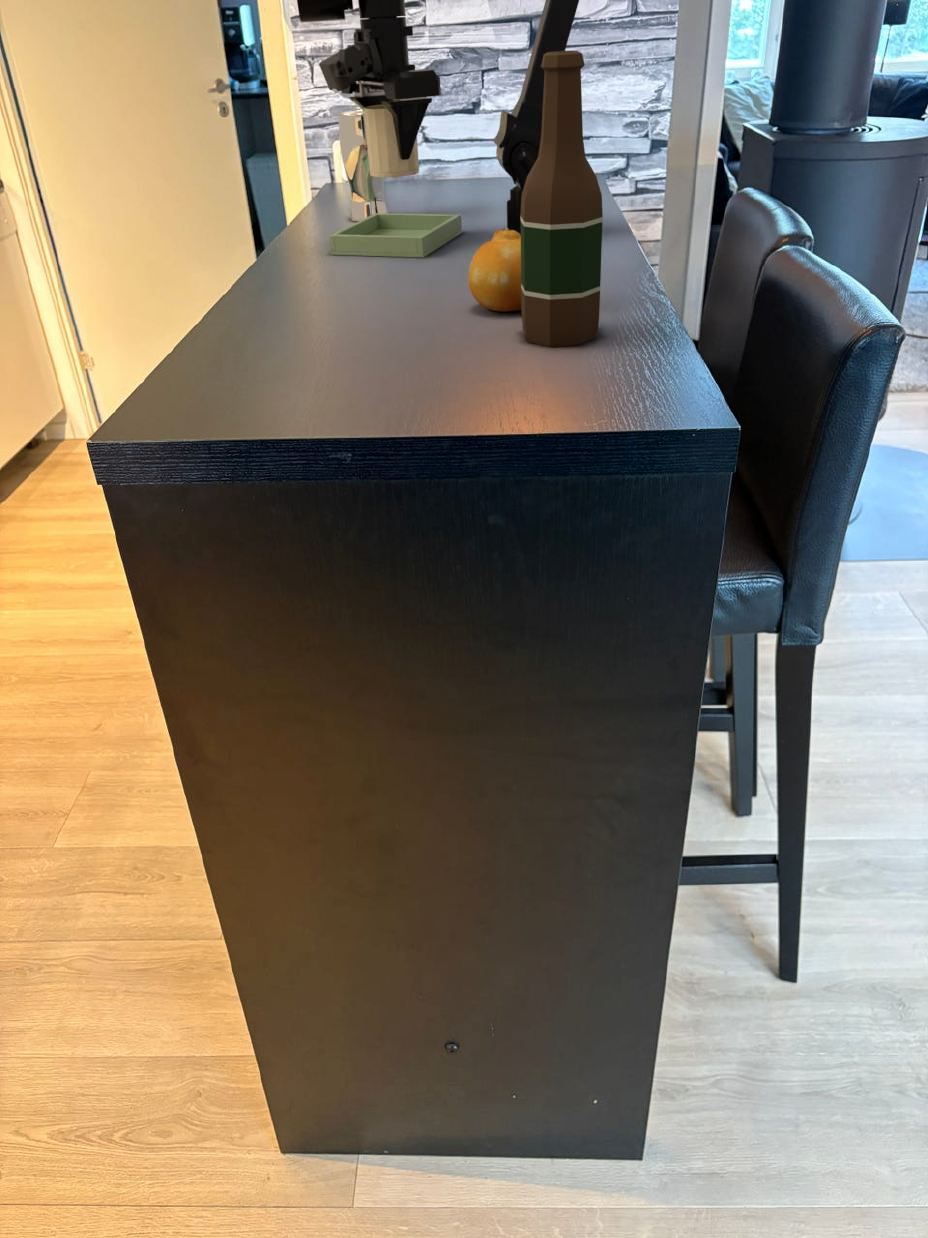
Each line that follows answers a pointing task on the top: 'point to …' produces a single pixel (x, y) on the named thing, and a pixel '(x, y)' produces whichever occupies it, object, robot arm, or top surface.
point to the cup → (386, 146)
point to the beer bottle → (561, 218)
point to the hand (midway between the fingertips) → (394, 156)
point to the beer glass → (359, 167)
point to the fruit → (498, 272)
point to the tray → (396, 235)
